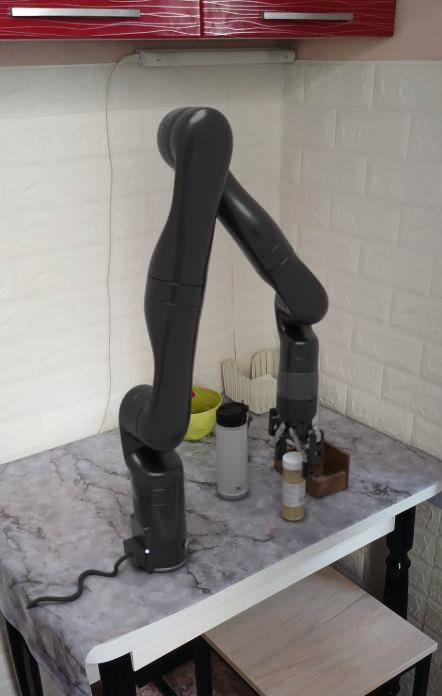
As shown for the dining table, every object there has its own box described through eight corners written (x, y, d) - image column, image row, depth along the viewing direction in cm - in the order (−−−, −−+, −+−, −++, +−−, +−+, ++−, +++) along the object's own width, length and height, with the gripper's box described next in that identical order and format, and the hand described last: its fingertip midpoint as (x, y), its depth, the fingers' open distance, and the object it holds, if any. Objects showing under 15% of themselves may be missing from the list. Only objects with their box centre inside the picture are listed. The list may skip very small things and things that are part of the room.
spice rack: (317, 499, 156) (318, 465, 152) (273, 468, 167) (274, 436, 163) (347, 487, 159) (350, 454, 155) (303, 458, 171) (304, 426, 167)
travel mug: (246, 502, 156) (245, 413, 145) (215, 499, 157) (212, 411, 147) (251, 486, 161) (251, 400, 151) (221, 484, 162) (218, 398, 152)
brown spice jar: (294, 507, 153) (296, 448, 147) (309, 516, 150) (311, 457, 143) (276, 514, 151) (277, 455, 144) (291, 524, 148) (293, 464, 141)
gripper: (258, 381, 140) (256, 458, 148) (304, 408, 130) (300, 489, 138) (291, 373, 144) (288, 449, 152) (338, 398, 133) (332, 479, 141)
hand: (293, 468), depth 145 cm, fingers open, 8 cm apart
